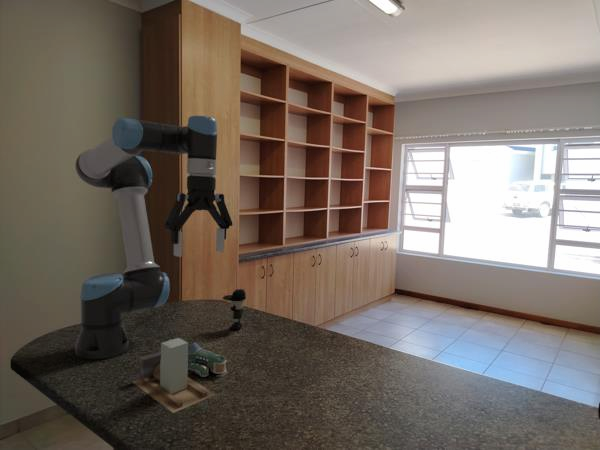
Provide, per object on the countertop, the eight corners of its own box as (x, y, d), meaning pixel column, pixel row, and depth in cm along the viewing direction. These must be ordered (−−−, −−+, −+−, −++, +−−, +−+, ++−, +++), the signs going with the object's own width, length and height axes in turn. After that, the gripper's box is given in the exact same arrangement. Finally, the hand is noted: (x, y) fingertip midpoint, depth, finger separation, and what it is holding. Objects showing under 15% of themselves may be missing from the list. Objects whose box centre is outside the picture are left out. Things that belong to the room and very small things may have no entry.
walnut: (150, 380, 108) (150, 364, 108) (165, 374, 111) (165, 359, 111) (158, 386, 105) (158, 370, 105) (173, 380, 108) (174, 364, 108)
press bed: (132, 386, 107) (132, 360, 106) (173, 371, 116) (173, 347, 115) (173, 417, 94) (173, 388, 93) (215, 398, 103) (216, 371, 102)
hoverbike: (214, 387, 109) (215, 357, 108) (146, 365, 120) (146, 338, 119) (235, 373, 117) (236, 345, 116) (170, 353, 128) (170, 328, 127)
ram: (159, 387, 104) (159, 342, 103) (176, 380, 108) (177, 337, 107) (169, 394, 101) (170, 348, 100) (187, 387, 105) (188, 342, 103)
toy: (225, 323, 156) (226, 285, 155) (247, 325, 155) (248, 287, 154) (219, 330, 149) (220, 290, 147) (242, 332, 148) (243, 292, 146)
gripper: (166, 173, 97) (165, 260, 99) (246, 177, 116) (243, 251, 118) (150, 172, 102) (150, 256, 104) (229, 177, 121) (227, 247, 123)
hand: (199, 253), depth 111 cm, fingers open, 13 cm apart
